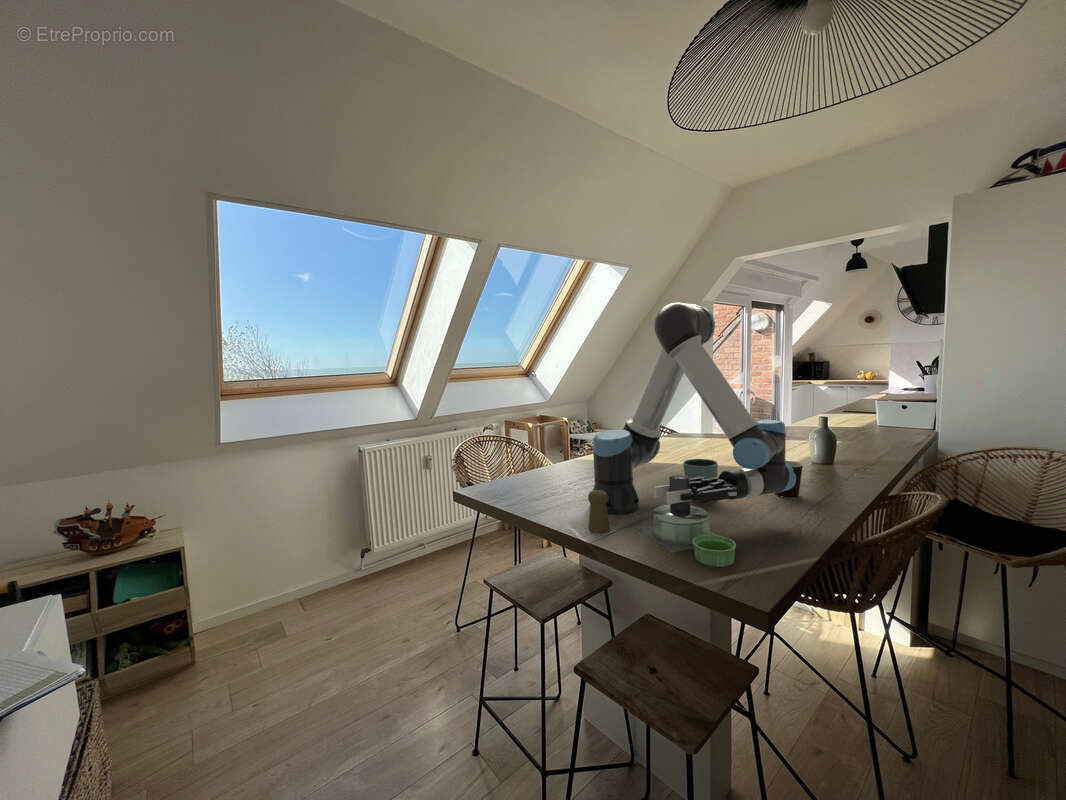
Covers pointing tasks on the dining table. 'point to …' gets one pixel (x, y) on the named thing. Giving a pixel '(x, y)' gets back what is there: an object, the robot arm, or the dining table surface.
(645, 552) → the dining table surface
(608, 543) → the dining table surface
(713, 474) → the teal cup
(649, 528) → the mat
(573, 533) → the dining table surface
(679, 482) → the cover
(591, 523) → the cork
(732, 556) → the ramekin
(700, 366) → the robot arm
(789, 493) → the coffee mug
